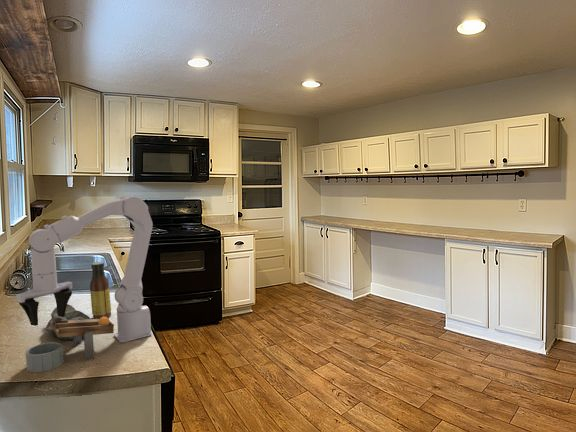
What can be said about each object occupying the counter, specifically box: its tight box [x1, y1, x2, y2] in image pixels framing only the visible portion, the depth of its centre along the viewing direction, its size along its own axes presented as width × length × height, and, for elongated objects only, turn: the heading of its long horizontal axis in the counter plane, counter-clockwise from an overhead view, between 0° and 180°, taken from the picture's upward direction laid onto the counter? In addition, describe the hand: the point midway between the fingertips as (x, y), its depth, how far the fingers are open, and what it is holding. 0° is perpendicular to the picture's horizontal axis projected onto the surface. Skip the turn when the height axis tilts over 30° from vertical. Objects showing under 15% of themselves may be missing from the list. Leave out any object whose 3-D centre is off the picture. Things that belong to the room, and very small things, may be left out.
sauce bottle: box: [89, 261, 112, 319], centre depth 142 cm, size 6×6×20 cm
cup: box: [25, 341, 64, 373], centre depth 106 cm, size 8×8×4 cm
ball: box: [98, 317, 111, 325], centre depth 115 cm, size 3×3×3 cm
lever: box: [50, 317, 115, 337], centre depth 114 cm, size 14×13×2 cm
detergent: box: [45, 303, 92, 341], centre depth 131 cm, size 13×7×25 cm
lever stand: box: [72, 318, 95, 362], centre depth 114 cm, size 2×16×8 cm, turn 40°
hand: (48, 320), depth 111 cm, fingers open, 7 cm apart
